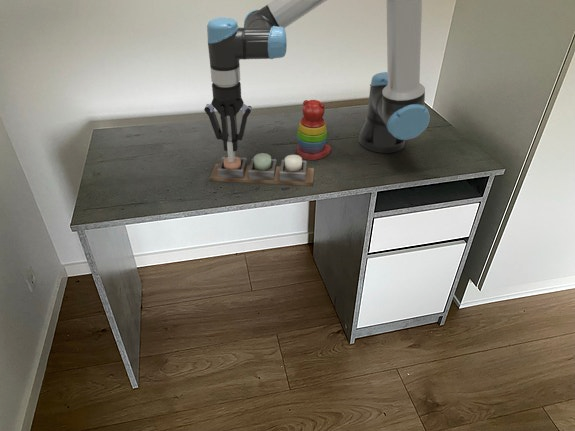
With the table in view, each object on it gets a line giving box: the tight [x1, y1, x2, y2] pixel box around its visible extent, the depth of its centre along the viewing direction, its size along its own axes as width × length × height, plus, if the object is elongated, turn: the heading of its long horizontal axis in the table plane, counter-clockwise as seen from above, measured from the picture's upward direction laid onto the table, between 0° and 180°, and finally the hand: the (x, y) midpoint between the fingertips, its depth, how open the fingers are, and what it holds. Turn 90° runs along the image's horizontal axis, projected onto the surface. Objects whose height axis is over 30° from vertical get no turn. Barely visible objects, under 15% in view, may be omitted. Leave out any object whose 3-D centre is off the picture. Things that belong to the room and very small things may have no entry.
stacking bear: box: [296, 99, 332, 161], centre depth 145 cm, size 11×10×18 cm
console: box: [210, 156, 315, 187], centre depth 139 cm, size 30×8×4 cm, turn 86°
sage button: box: [253, 152, 272, 171], centre depth 137 cm, size 5×5×3 cm
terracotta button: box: [224, 156, 241, 170], centre depth 138 cm, size 5×5×3 cm
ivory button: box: [284, 154, 303, 172], centre depth 136 cm, size 5×5×3 cm
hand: (231, 159), depth 137 cm, fingers closed
